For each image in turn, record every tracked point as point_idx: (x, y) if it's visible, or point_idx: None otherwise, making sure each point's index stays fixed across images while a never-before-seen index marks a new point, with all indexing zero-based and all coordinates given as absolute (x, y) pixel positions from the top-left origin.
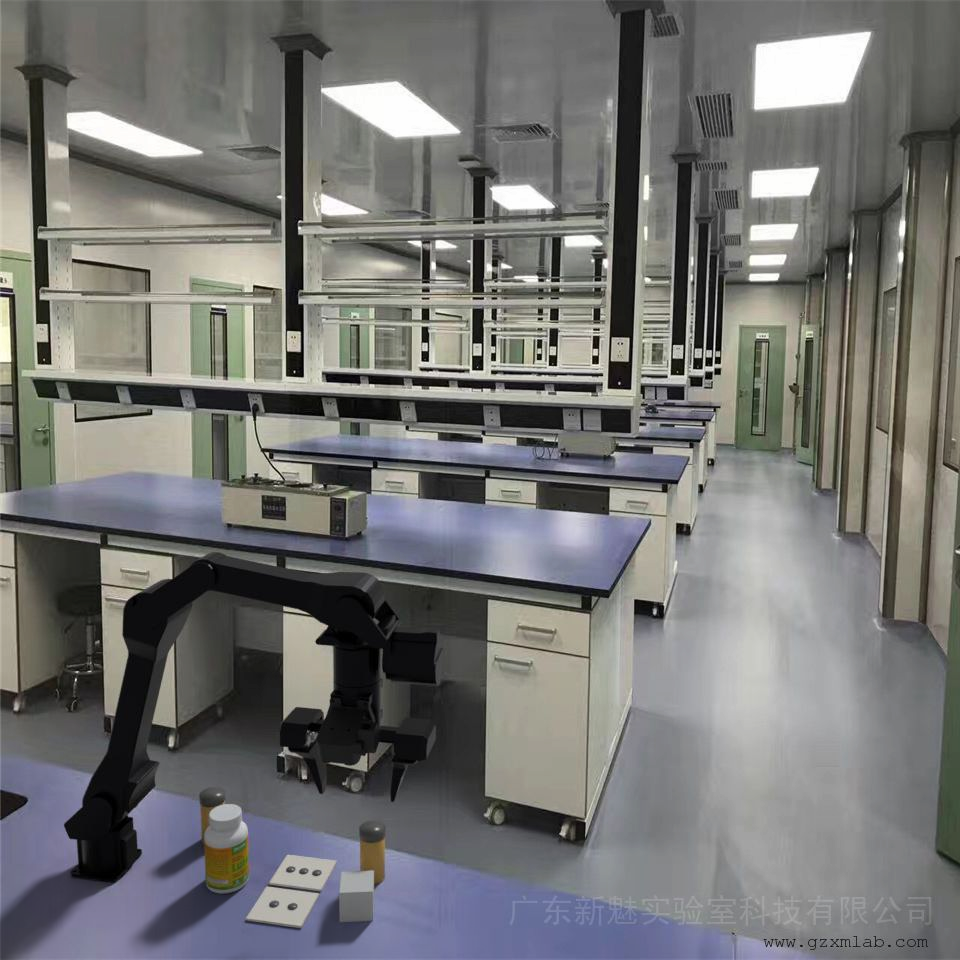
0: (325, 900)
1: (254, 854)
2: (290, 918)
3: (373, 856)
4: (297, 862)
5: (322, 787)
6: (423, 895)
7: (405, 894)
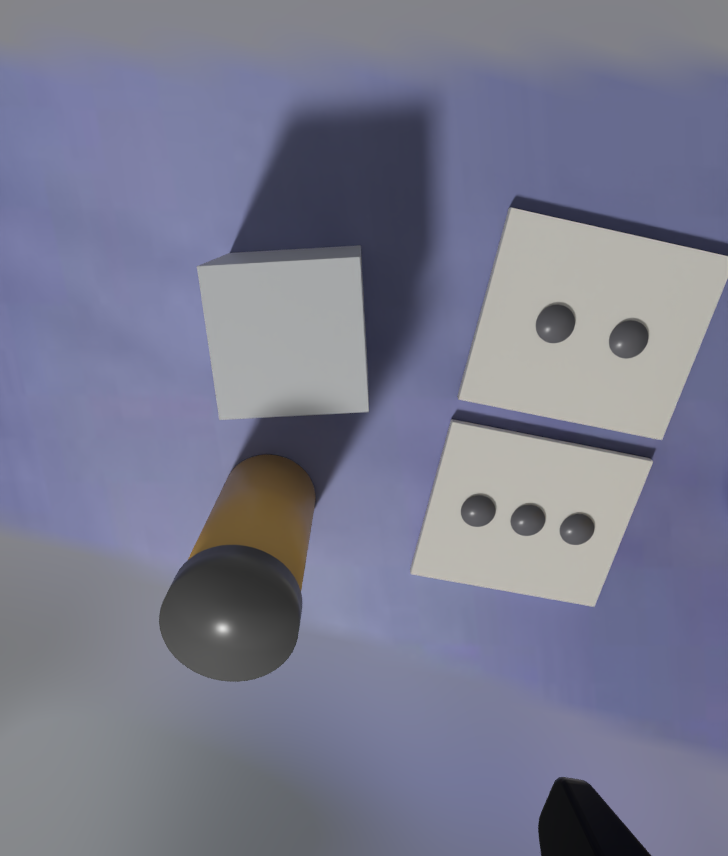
0: (430, 370)
1: (709, 613)
2: (558, 253)
3: (237, 511)
4: (554, 566)
5: (580, 839)
6: (59, 395)
7: (129, 401)
